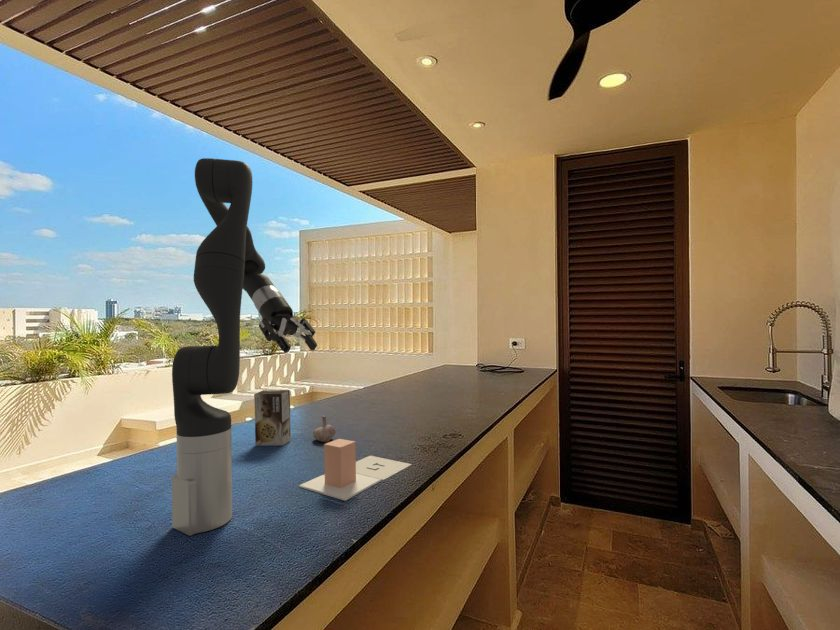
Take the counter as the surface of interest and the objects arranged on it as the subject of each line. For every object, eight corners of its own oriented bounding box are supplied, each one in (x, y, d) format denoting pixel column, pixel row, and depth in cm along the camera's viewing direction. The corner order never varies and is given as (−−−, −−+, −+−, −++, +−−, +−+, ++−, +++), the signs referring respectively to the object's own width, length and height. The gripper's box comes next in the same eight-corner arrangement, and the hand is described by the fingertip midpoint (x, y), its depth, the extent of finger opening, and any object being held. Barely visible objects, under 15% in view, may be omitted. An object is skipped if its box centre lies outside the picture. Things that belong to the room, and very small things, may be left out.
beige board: (345, 501, 85) (345, 498, 85) (299, 487, 93) (299, 485, 93) (380, 481, 95) (380, 479, 95) (336, 471, 103) (336, 468, 103)
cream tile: (383, 480, 96) (383, 479, 96) (339, 469, 104) (339, 469, 104) (411, 464, 106) (411, 464, 106) (370, 456, 114) (370, 455, 114)
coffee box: (291, 440, 131) (290, 389, 132) (282, 446, 125) (282, 393, 125) (264, 439, 132) (263, 389, 132) (254, 445, 126) (253, 393, 126)
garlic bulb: (329, 444, 126) (329, 418, 126) (307, 443, 128) (307, 417, 128) (339, 437, 133) (339, 413, 134) (318, 436, 135) (318, 412, 135)
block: (341, 488, 91) (340, 447, 91) (324, 483, 93) (324, 444, 94) (355, 480, 95) (355, 441, 95) (339, 476, 98) (339, 438, 98)
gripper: (255, 294, 103) (286, 340, 97) (299, 296, 115) (329, 337, 109) (242, 316, 106) (271, 362, 100) (287, 316, 118) (315, 357, 112)
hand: (301, 349), depth 104 cm, fingers open, 8 cm apart
